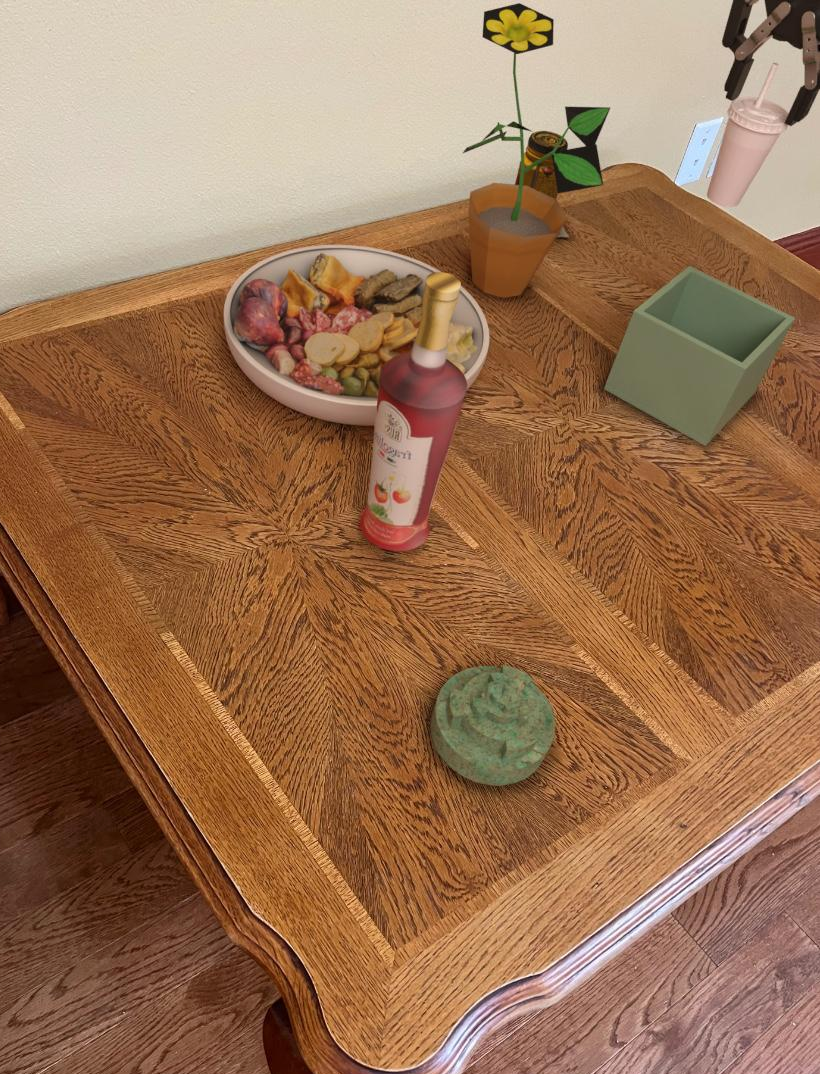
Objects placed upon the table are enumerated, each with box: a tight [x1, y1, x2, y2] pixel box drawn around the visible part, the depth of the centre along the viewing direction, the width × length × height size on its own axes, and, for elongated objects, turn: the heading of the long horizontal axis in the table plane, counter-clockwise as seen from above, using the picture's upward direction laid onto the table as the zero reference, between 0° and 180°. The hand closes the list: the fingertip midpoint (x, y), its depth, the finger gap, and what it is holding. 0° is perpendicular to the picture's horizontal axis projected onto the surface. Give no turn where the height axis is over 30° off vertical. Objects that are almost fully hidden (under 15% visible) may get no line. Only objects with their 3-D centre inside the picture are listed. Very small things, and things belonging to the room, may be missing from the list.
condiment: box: [514, 130, 570, 238], centre depth 128 cm, size 7×8×12 cm
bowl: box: [223, 244, 490, 427], centre depth 106 cm, size 30×30×8 cm
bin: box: [603, 265, 796, 447], centre depth 108 cm, size 14×14×11 cm
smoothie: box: [706, 62, 789, 208], centre depth 100 cm, size 6×6×14 cm
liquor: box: [359, 271, 468, 552], centre depth 81 cm, size 7×7×28 cm
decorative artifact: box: [429, 664, 556, 787], centre depth 77 cm, size 10×7×10 cm
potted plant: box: [461, 2, 611, 299], centre depth 111 cm, size 18×19×30 cm
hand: (760, 109), depth 98 cm, fingers closed on smoothie, 6 cm apart
